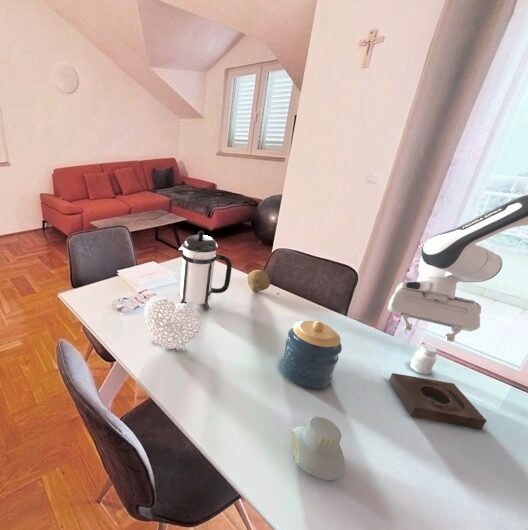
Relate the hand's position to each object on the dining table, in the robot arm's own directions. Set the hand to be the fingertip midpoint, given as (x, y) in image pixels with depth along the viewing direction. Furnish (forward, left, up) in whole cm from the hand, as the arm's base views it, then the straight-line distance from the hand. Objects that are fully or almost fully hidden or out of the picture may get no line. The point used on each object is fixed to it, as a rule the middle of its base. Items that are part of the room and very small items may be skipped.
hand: (427, 335), depth 92 cm
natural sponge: (+44, -32, -9) cm, 55 cm away
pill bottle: (+2, +5, -9) cm, 10 cm away
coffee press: (+68, -17, -9) cm, 70 cm away
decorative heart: (+74, +15, -9) cm, 76 cm away
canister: (+35, +16, -9) cm, 39 cm away
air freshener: (+39, +44, -9) cm, 59 cm away
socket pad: (+6, +19, -9) cm, 22 cm away
